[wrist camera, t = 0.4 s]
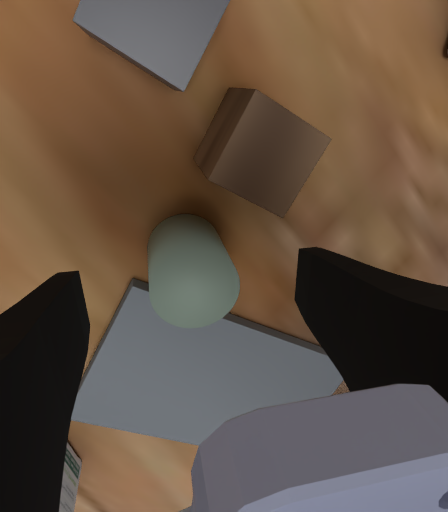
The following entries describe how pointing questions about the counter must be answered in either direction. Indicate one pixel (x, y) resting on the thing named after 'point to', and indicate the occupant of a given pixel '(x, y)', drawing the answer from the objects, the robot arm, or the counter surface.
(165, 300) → the sage cylinder
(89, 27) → the charcoal cube
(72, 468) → the syrup box
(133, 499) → the counter surface
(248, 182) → the walnut block
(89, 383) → the slate mat
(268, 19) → the counter surface
